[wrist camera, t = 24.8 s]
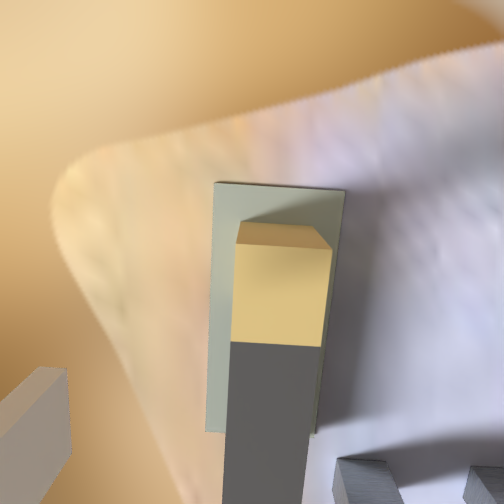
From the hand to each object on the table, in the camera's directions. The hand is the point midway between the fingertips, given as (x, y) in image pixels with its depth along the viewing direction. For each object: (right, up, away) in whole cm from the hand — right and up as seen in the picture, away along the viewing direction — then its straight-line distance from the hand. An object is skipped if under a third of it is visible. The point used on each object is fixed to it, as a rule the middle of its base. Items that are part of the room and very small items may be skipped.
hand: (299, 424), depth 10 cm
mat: (0, 0, +14) cm, 14 cm away
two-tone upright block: (0, -1, +14) cm, 14 cm away
